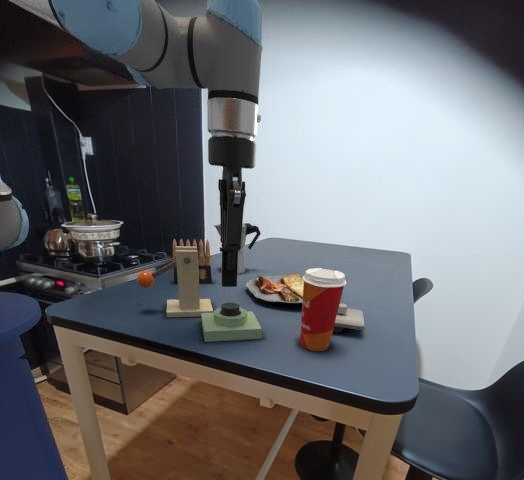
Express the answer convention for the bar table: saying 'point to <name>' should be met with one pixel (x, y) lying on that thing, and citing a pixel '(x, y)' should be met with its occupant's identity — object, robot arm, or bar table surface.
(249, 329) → the button block
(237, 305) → the button
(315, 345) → the paper cup
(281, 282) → the food plate
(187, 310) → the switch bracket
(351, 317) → the light switch
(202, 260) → the ammunition clip
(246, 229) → the coffee maker
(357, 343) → the bar table surface
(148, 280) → the switch lever
